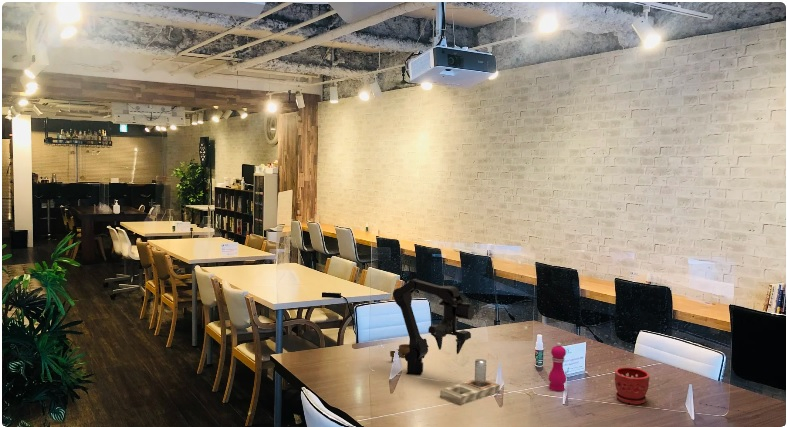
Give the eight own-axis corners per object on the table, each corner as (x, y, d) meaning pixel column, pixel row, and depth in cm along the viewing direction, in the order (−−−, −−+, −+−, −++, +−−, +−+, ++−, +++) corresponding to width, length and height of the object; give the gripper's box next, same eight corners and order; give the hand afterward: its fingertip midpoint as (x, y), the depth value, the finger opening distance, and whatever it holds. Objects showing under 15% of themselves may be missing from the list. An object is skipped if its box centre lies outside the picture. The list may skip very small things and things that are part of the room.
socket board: (460, 405, 247) (460, 396, 246) (440, 396, 255) (440, 388, 255) (499, 391, 262) (499, 384, 262) (479, 384, 271) (479, 377, 270)
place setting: (426, 358, 307) (426, 346, 306) (392, 365, 296) (392, 352, 295) (405, 349, 321) (405, 338, 321) (372, 355, 310) (372, 343, 310)
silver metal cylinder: (475, 393, 260) (476, 362, 259) (472, 389, 264) (474, 359, 263) (486, 393, 260) (487, 362, 259) (483, 389, 265) (484, 359, 264)
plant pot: (609, 394, 263) (610, 366, 262) (641, 395, 263) (642, 367, 262) (619, 406, 250) (621, 376, 249) (653, 407, 250) (654, 377, 249)
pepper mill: (566, 387, 270) (568, 341, 269) (564, 392, 264) (567, 345, 262) (548, 384, 273) (551, 339, 271) (547, 390, 266) (549, 343, 264)
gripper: (421, 315, 271) (420, 351, 273) (457, 323, 260) (456, 360, 261) (436, 311, 280) (435, 345, 281) (472, 318, 268) (470, 354, 270)
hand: (448, 351), depth 273 cm, fingers open, 9 cm apart
